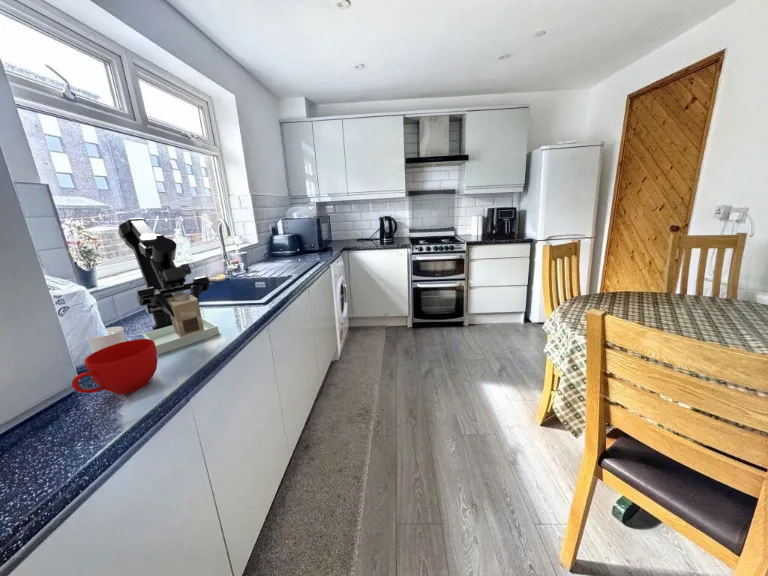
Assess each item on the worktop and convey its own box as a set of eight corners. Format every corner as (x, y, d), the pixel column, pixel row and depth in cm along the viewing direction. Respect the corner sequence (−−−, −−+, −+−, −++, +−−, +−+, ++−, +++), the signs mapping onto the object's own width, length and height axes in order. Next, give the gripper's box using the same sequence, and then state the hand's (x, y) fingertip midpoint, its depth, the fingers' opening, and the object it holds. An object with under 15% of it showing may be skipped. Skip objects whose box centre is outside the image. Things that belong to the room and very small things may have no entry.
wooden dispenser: (174, 331, 94) (165, 294, 89) (196, 324, 98) (188, 289, 94) (181, 338, 90) (171, 299, 86) (204, 330, 94) (196, 293, 90)
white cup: (112, 371, 83) (100, 338, 80) (90, 369, 84) (78, 337, 82) (139, 357, 90) (129, 326, 87) (119, 356, 92) (108, 326, 89)
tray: (144, 341, 101) (142, 333, 100) (202, 324, 114) (200, 316, 113) (157, 355, 91) (154, 346, 90) (219, 333, 103) (217, 325, 103)
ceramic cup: (63, 412, 66) (46, 372, 63) (138, 370, 82) (127, 337, 79) (107, 417, 63) (92, 376, 60) (176, 373, 79) (166, 339, 76)
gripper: (128, 262, 82) (149, 310, 79) (202, 251, 95) (222, 292, 92) (129, 283, 89) (149, 327, 86) (198, 270, 103) (217, 308, 100)
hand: (186, 313), depth 91 cm, fingers closed on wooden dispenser, 6 cm apart
